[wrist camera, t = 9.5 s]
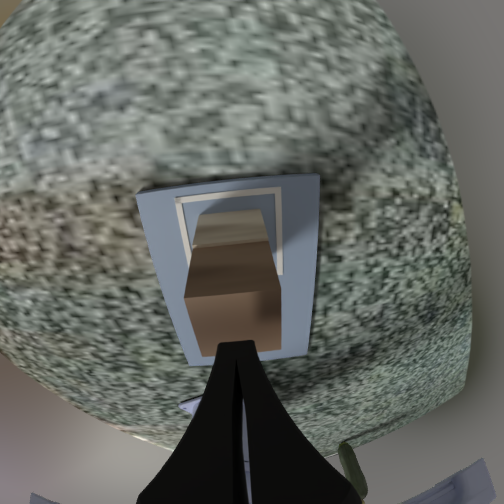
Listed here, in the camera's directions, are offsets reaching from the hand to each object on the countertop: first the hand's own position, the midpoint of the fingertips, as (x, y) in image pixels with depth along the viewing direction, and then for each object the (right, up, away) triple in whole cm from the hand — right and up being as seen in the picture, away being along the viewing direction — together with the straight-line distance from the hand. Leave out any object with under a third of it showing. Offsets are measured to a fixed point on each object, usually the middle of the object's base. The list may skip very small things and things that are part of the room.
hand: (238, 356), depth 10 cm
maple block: (-1, +5, +8) cm, 10 cm away
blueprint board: (0, +1, +11) cm, 12 cm away
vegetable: (+21, -38, +37) cm, 57 cm away
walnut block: (0, +3, +5) cm, 6 cm away
